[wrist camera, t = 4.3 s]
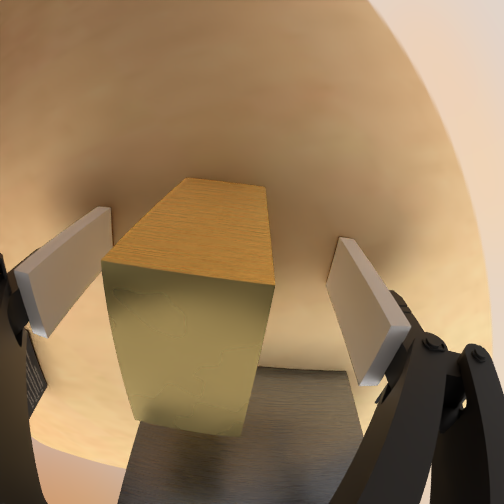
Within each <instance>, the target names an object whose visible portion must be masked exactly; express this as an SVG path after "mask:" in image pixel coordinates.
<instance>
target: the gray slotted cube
mask: <svg viewBox="0 0 504 504" xmlns="http://www.w3.org/2000/svg"><path fill="white" fill-rule="evenodd" d="M362 440H363V433H362V429H361V425H360V421H359V417H358V414H357V410H356V406H355V402H354V398H353V395H352V391H351V387H350V384H349V380H348V376H347V373H346V371H314V370H294V369H279V368H267V367H257V370H256V374H255V379H254V383H253V387H252V391H251V395H250V399H249V404H248V408H247V412H246V416H245V420H244V424H243V428H242V432H241V436H240V437H230V436H221V435H213V434H206V433H199V432H193V431H187V430H181V429H175V428H170V427H165V426H160V425H156V424H151V423H147V422H143V421H140V424H139V427H138V431H137V434H136V437H135V441H134V444H133V448H132V451H131V455H130V458H129V462H128V465H127V469H126V473H125V476H124V480H123V484H122V488H121V492H120V496H119V499H118V504H328V503H329V502H330V500H331V498H332V497H333V495H334V493H335V492H336V490H337V488H338V486H339V485H340V483H341V481H342V479H343V477H344V476H345V474H346V472H347V470H348V468H349V466H350V464H351V462H352V460H353V458H354V456H355V454H356V452H357V450H358V448H359V446H360V444H361V442H362Z"/></svg>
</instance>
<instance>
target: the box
mask: <svg viewBox="0 0 504 504" xmlns="http://www.w3.org/2000/svg"><path fill="white" fill-rule="evenodd" d="M26 334H27V344H26V385H27V403H28V415H29V419H30V417H31V415H32V413H33V411H34V409H35V407H36V406H37V404H38V402H39V400H40V398H41V397H42V395H43V393H44V391H45V389H46V388H47V384H46V381H45V379H44V377H43V374H42V372H41V369H40V367H39V364H38V361H37V359H36V356H35V353H34V350H33V347H32V344H31V341H30V338H29V335H28V332H27V331H26Z"/></svg>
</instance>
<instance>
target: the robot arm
mask: <svg viewBox="0 0 504 504" xmlns="http://www.w3.org/2000/svg"><path fill="white" fill-rule="evenodd" d="M112 248H113V242H112V225H111V208H109V207H99V206H98V207H96V208H95V209H93V210H92V211H90V212H89V213H88V214H86V215H85V216H83V217H82V218H80V219H79V220H77V221H76V222H75V223H73V224H72V225H70V226H69V227H68V228H66V229H65V230H63V231H62V232H61V233H59V234H58V235H57V236H55V237H54V238H53V239H51V240H50V241H49V242H47V243H46V244H45V245H44V246H42V247H40V248H38V249H36V250H35V251H34V252H33V253H31V254H30V255H29V256H28V257H26V258H25V259H24V261H21V262H20V263H19V264H18V265H17V266H15V267H14V268H13V269H12V270H11V271H10V272H8V273H7V272H6V268H5V264H4V260H3V255H2V254H1V253H0V504H48V503H47V502H46V500H45V498H44V496H43V493H42V490H41V486H40V482H39V477H38V473H37V468H36V463H35V458H34V453H33V447H32V440H31V433H30V425H29V415H28V403H27V385H26V344H27V334H26V330H25V328H24V326H25V325H26V324H27V323H28V322H30V325H31V328H32V331H33V333H34V334H37V335H39V336H42V337H45V338H49V336H50V335H51V334H52V332H53V331H54V330H55V328H56V327H57V326H58V324H59V323H60V322H61V320H62V319H63V318H64V316H65V315H66V314H67V312H68V311H69V310H70V309H71V307H72V306H73V305H74V304H75V302H76V301H77V300H78V299H79V297H80V296H81V295H82V294H83V293H84V291H85V290H86V289H87V288H88V286H89V285H90V284H91V283H92V282H93V281H94V279H95V278H96V277H97V276H98V275H99V273H100V272H101V271H102V268H101V259H102V258H103V257H104V256H105V255H106V254H107V253H108V252H109V251H110V250H111V249H112ZM326 288H327V291H328V294H329V296H330V299H331V302H332V305H333V308H334V311H335V313H336V316H337V319H338V322H339V325H340V328H341V331H342V334H343V337H344V340H345V343H346V346H347V349H348V352H349V356H350V359H351V362H352V365H353V368H354V372H355V375H356V378H357V381H358V385H359V386H375V385H378V384H379V383H380V381H381V379H382V378H383V376H384V375H386V378H387V381H388V383H387V385H386V386H385V388H384V389H383V391H382V392H381V394H380V395H379V397H378V398H377V400H376V401H375V403H376V404H377V403H378V405H377V407H376V410H375V412H374V415H373V417H372V419H371V422H370V424H369V426H368V429H367V431H366V433H365V435H364V438H363V440H362V442H361V444H360V446H359V448H358V450H357V452H356V454H355V456H354V458H353V460H352V462H351V464H350V466H349V468H348V470H347V472H346V474H345V476H344V477H343V479H342V481H341V483H340V485H339V486H338V488H337V490H336V492H335V493H334V495H333V497H332V498H331V500H330V502H329V503H328V504H419V503H420V501H421V498H422V494H423V491H424V488H425V485H426V481H427V478H428V474H429V471H430V467H431V463H432V469H431V493H430V504H504V394H503V391H502V388H501V385H500V381H499V378H498V376H497V372H496V370H495V367H494V364H493V361H492V358H491V357H490V355H489V353H488V352H487V351H486V350H485V349H484V348H482V347H481V346H480V345H476V344H468V345H466V347H465V348H464V350H463V352H462V353H461V354H460V353H456V352H451V351H448V349H447V346H446V344H445V343H444V341H443V340H441V339H440V338H439V337H438V336H436V335H434V334H432V333H428V332H424V331H423V329H422V328H421V326H420V324H419V323H418V321H417V320H416V318H415V317H414V315H413V314H411V310H410V309H409V307H407V304H406V303H405V301H404V300H403V298H402V297H401V296H399V295H398V294H397V293H396V292H395V291H393V290H388V288H387V287H386V285H385V284H384V282H383V280H382V279H381V277H380V276H379V274H378V273H377V272H376V270H375V269H374V267H373V266H372V264H371V263H370V261H369V260H368V258H367V257H366V255H365V254H364V253H363V251H362V250H361V248H360V247H359V246H358V244H357V243H356V241H355V240H354V239H350V238H344V237H339V240H338V244H337V248H336V252H335V255H334V259H333V262H332V266H331V269H330V273H329V276H328V280H327V283H326ZM465 399H466V400H467V404H466V407H465V408H464V409H463V405H462V403H463V402H464V400H465Z"/></svg>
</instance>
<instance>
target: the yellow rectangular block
mask: <svg viewBox="0 0 504 504" xmlns="http://www.w3.org/2000/svg"><path fill="white" fill-rule="evenodd" d="M101 268H102V276H103V283H104V290H105V297H106V303H107V309H108V315H109V320H110V325H111V330H112V335H113V340H114V345H115V349H116V353H117V358H118V362H119V366H120V370H121V374H122V378H123V381H124V385H125V388H126V392H127V395H128V399H129V402H130V405H131V409H132V412H133V415H134V418H135V420H139V421H143V422H147V423H151V424H156V425H160V426H165V427H170V428H175V429H181V430H187V431H193V432H199V433H206V434H213V435H221V436H230V437H240V436H241V432H242V428H243V424H244V420H245V416H246V412H247V408H248V404H249V399H250V395H251V391H252V387H253V383H254V379H255V374H256V370H257V366H258V361H259V357H260V353H261V348H262V344H263V339H264V335H265V330H266V326H267V321H268V317H269V312H270V307H271V303H272V298H273V293H274V289H275V278H274V267H273V257H272V247H271V237H270V228H269V218H268V209H267V200H266V191H265V187H262V186H255V185H248V184H240V183H232V182H224V181H216V180H207V179H197V178H187V177H186V178H185V179H184V180H183V181H182V182H181V183H179V184H178V185H177V186H176V187H175V188H174V189H173V190H172V191H171V192H169V193H168V194H167V195H166V196H165V197H164V198H163V199H162V200H161V201H160V202H159V203H157V204H156V205H155V206H154V207H153V208H152V209H151V210H150V211H149V212H148V213H147V214H146V215H145V216H144V217H143V218H142V219H141V220H140V221H139V222H138V223H137V224H136V225H134V226H133V227H132V228H131V229H130V230H129V231H128V232H127V233H126V234H125V235H124V236H123V237H122V238H121V239H120V241H119V242H118V243H117V244H116V245H115V246H114V247H113V248H112V249H111V250H110V251H109V252H108V253H107V254H106V255H105V256H104V257H103V258H102V259H101Z"/></svg>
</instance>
